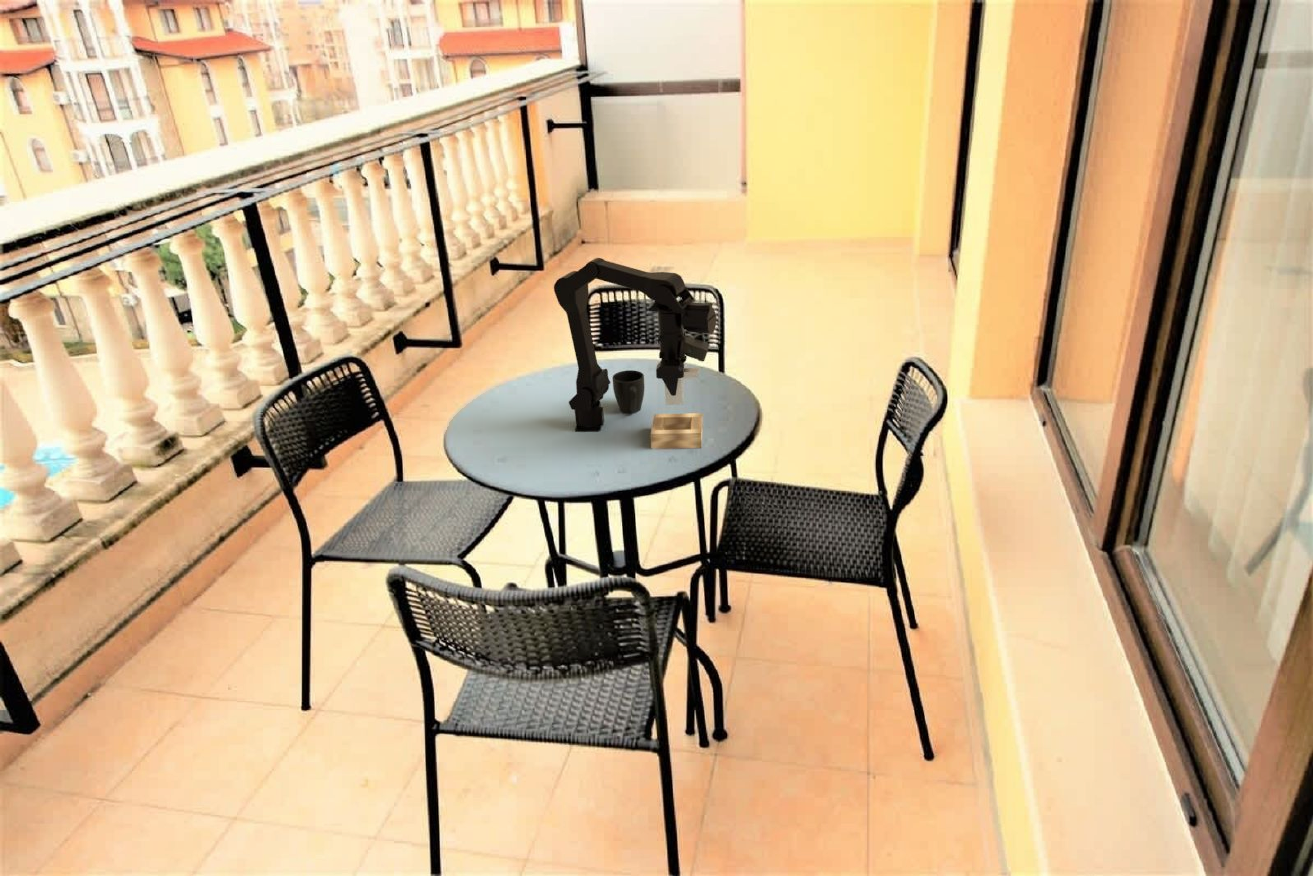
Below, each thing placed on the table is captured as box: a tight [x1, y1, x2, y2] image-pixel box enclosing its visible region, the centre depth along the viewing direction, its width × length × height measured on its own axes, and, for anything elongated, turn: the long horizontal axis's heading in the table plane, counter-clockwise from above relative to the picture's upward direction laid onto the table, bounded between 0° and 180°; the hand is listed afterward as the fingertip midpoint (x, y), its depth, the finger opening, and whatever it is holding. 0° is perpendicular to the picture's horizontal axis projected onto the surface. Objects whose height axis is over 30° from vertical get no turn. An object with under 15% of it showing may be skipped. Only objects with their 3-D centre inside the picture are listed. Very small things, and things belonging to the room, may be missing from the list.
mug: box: [612, 369, 645, 414], centre depth 219 cm, size 8×12×10 cm
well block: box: [650, 412, 704, 450], centre depth 205 cm, size 12×11×4 cm
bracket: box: [664, 367, 700, 406], centre depth 199 cm, size 8×4×8 cm, turn 85°
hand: (674, 391), depth 200 cm, fingers closed on bracket, 4 cm apart
